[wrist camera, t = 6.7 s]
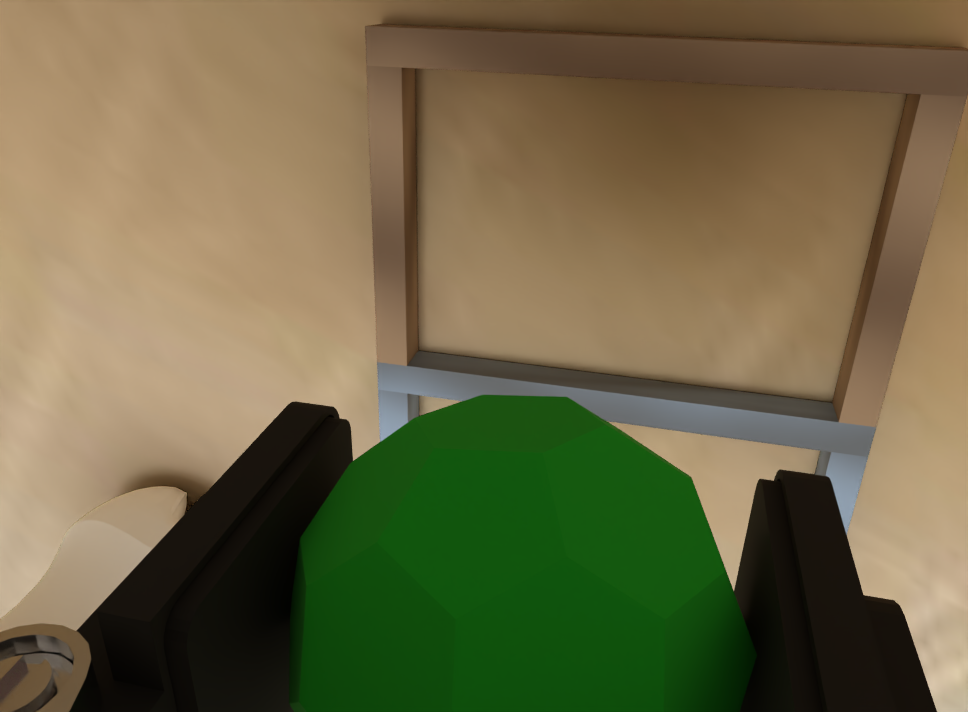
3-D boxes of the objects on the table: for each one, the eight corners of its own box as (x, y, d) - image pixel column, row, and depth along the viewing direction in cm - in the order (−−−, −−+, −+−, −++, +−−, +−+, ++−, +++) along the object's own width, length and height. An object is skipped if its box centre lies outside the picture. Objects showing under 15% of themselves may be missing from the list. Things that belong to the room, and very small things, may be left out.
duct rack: (380, 23, 22) (365, 25, 21) (963, 47, 19) (979, 51, 18) (396, 600, 31) (386, 621, 30) (795, 676, 28) (800, 703, 27)
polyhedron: (324, 511, 12) (127, 800, 8) (486, 256, 10) (328, 472, 5) (599, 685, 12) (551, 1057, 8) (823, 476, 10) (923, 848, 6)
